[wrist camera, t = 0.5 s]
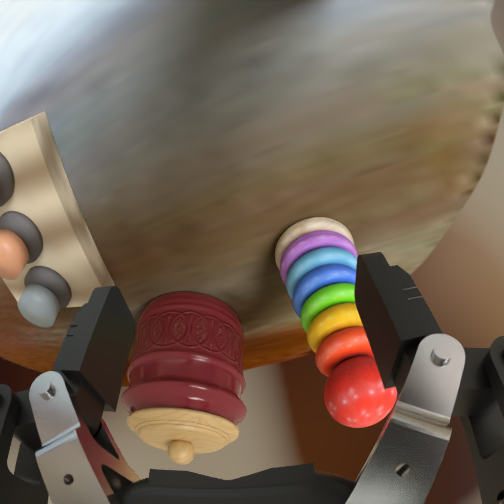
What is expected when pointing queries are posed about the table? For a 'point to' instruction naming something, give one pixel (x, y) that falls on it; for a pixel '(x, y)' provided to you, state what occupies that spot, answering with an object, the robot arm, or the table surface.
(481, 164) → the table surface
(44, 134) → the button panel
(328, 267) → the stacking toy
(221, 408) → the canister
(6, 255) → the terracotta button
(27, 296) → the slate button
